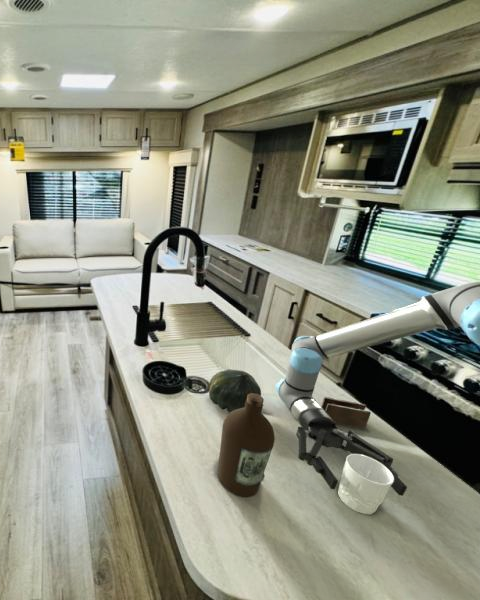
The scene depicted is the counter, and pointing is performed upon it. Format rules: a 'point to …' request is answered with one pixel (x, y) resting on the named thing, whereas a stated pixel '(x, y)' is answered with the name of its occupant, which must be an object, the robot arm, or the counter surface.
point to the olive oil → (245, 448)
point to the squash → (232, 389)
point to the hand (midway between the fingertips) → (368, 488)
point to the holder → (346, 412)
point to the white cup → (364, 483)
